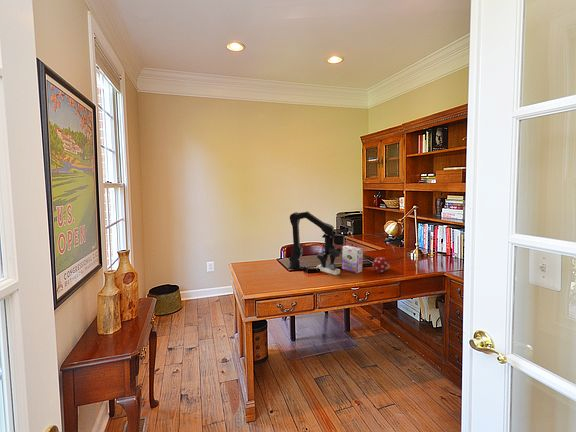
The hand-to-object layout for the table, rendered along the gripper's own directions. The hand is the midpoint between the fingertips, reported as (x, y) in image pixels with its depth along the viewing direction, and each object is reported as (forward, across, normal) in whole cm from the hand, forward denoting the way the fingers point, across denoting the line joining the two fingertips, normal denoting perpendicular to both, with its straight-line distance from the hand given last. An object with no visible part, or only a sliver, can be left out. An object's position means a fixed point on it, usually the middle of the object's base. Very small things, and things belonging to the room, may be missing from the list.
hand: (328, 266), depth 221 cm
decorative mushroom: (+4, +27, -27) cm, 38 cm away
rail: (+4, 0, 0) cm, 4 cm away
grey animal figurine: (+4, 0, 0) cm, 4 cm away
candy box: (+4, +14, -10) cm, 18 cm away
